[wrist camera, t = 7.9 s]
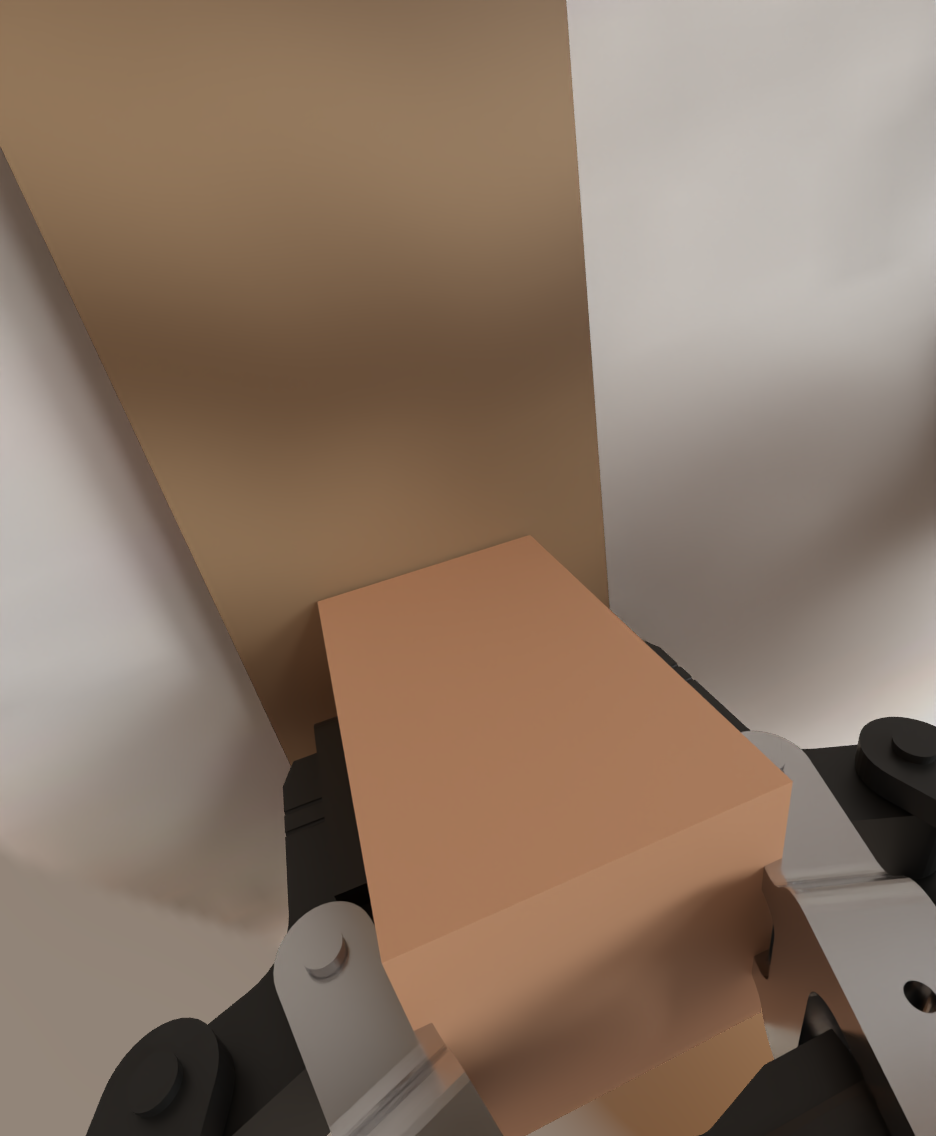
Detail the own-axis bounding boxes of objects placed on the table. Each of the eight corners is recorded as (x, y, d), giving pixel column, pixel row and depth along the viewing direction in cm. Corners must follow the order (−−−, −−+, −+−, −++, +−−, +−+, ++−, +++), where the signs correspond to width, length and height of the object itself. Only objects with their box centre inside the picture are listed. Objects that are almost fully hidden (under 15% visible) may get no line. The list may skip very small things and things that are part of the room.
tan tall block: (316, 601, 11) (381, 962, 5) (529, 534, 12) (792, 781, 6) (381, 777, 14) (475, 1161, 8) (555, 711, 15) (760, 1011, 9)
